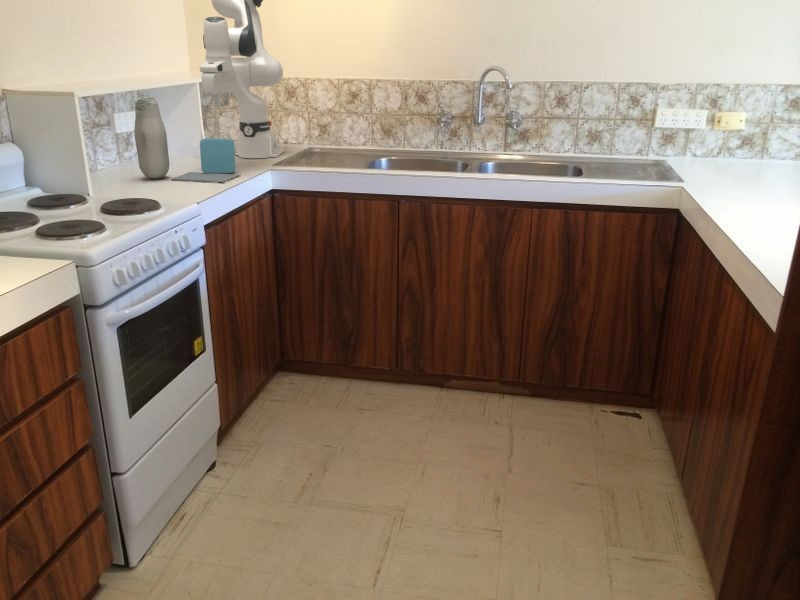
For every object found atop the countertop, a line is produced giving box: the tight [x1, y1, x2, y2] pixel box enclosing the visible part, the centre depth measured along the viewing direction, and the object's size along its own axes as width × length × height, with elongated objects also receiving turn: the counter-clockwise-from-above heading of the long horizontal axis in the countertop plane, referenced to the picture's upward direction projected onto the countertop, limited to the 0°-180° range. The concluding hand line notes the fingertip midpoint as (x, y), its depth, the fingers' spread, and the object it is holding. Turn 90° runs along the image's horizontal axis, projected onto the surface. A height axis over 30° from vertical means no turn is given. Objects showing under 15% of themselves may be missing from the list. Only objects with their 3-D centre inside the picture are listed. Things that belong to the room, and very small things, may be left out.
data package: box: [199, 137, 237, 174], centre depth 244 cm, size 12×4×12 cm, turn 106°
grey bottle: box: [133, 95, 170, 180], centre depth 232 cm, size 10×10×28 cm
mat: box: [170, 171, 241, 184], centre depth 238 cm, size 13×20×1 cm, turn 77°
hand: (222, 106), depth 245 cm, fingers open, 5 cm apart
